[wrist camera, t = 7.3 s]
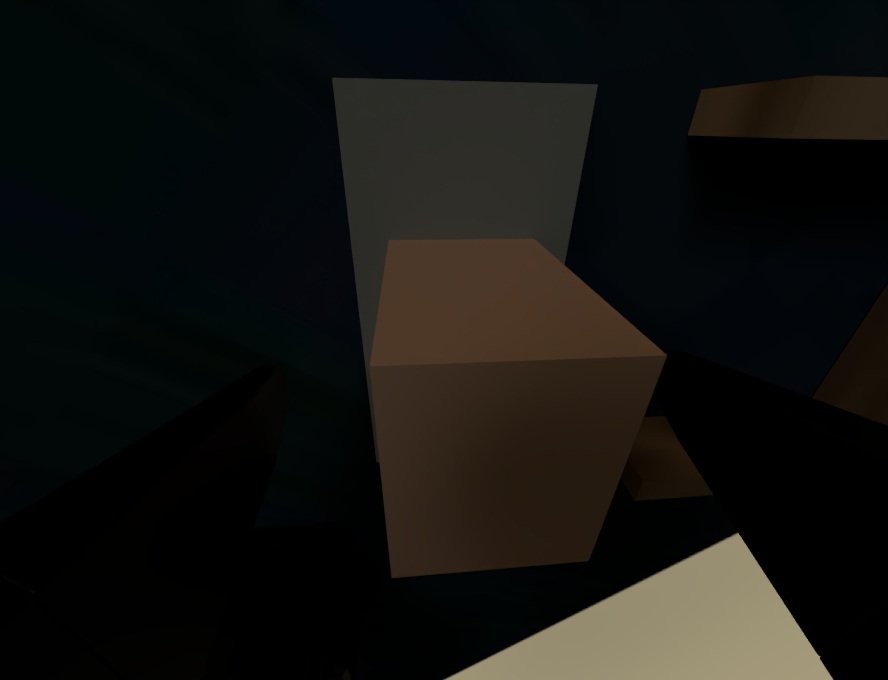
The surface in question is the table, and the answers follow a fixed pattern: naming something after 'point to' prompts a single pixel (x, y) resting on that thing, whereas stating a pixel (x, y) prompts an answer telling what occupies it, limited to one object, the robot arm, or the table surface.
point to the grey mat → (456, 169)
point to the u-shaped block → (884, 328)
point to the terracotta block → (500, 405)
